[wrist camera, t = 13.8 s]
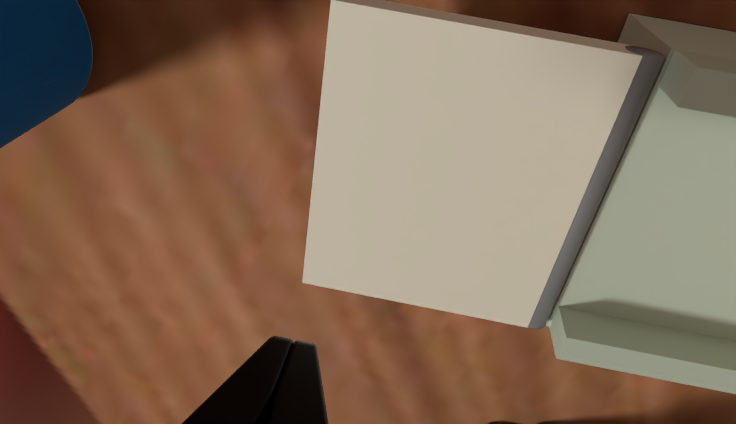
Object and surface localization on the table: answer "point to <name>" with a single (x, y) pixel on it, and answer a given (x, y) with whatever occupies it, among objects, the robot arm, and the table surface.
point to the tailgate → (463, 156)
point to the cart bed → (664, 225)
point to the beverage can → (40, 61)
